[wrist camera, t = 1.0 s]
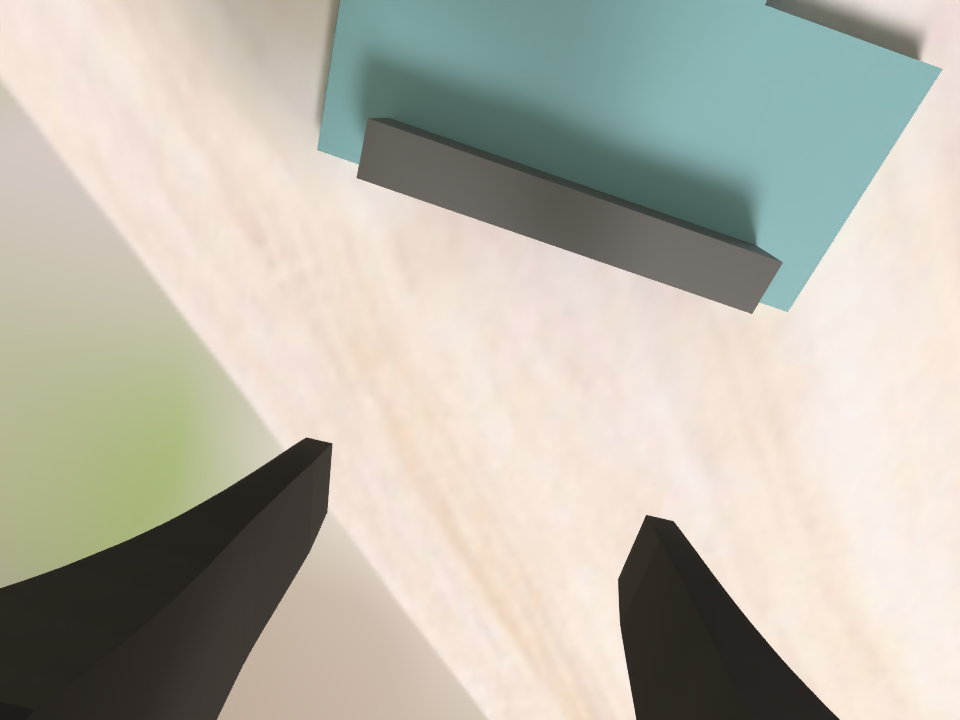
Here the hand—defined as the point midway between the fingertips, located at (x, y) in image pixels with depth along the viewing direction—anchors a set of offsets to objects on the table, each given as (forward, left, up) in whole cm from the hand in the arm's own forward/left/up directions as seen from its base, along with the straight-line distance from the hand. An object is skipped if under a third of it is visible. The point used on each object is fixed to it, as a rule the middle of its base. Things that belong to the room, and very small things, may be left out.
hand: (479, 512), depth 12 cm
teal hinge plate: (0, -10, -9) cm, 13 cm away
